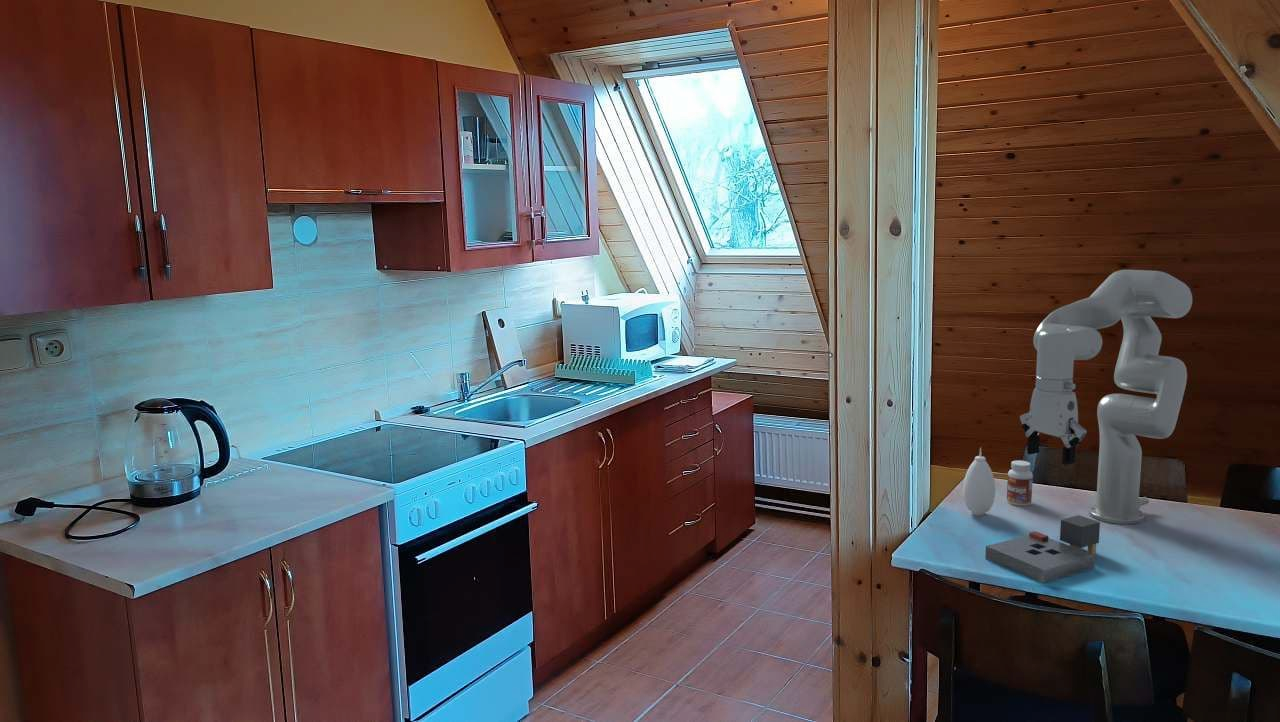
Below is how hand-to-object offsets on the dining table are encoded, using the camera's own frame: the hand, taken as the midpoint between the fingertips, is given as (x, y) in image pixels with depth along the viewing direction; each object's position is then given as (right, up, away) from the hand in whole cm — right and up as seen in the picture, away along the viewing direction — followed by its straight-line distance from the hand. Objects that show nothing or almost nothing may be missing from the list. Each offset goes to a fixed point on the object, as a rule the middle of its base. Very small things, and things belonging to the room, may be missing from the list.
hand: (1050, 458), depth 211 cm
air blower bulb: (-6, -18, +30) cm, 35 cm away
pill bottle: (+8, -16, +38) cm, 42 cm away
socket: (-4, -23, -3) cm, 24 cm away
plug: (+8, -22, +3) cm, 24 cm away
